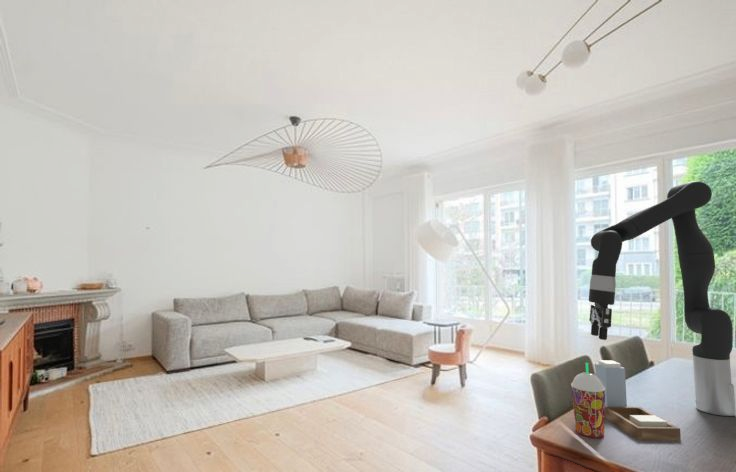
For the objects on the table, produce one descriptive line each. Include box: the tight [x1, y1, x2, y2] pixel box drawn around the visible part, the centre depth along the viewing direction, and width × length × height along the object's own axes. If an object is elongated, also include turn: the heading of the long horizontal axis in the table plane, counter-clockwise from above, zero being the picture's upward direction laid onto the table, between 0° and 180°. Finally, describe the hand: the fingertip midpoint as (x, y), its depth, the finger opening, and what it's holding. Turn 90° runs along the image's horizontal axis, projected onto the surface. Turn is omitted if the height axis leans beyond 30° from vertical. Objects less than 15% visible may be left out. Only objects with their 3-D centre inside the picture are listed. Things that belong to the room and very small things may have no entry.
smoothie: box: [570, 362, 605, 439], centre depth 109 cm, size 8×8×20 cm
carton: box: [594, 359, 628, 407], centre depth 125 cm, size 6×6×16 cm
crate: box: [604, 406, 682, 441], centre depth 112 cm, size 16×11×4 cm
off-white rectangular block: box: [630, 414, 668, 427], centre depth 108 cm, size 4×7×4 cm, turn 89°
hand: (598, 337), depth 132 cm, fingers open, 8 cm apart
